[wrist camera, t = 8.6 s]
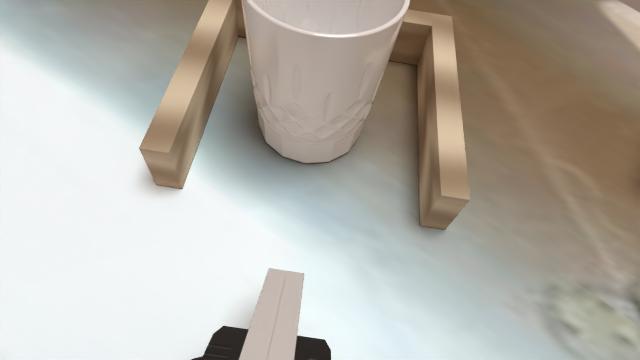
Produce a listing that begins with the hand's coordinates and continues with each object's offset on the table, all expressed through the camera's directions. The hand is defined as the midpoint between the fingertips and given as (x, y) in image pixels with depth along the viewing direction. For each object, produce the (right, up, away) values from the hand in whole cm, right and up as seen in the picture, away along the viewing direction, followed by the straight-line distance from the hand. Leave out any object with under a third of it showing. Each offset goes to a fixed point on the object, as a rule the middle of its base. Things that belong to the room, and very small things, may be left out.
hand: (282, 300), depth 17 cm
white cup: (+1, +9, +10) cm, 13 cm away
